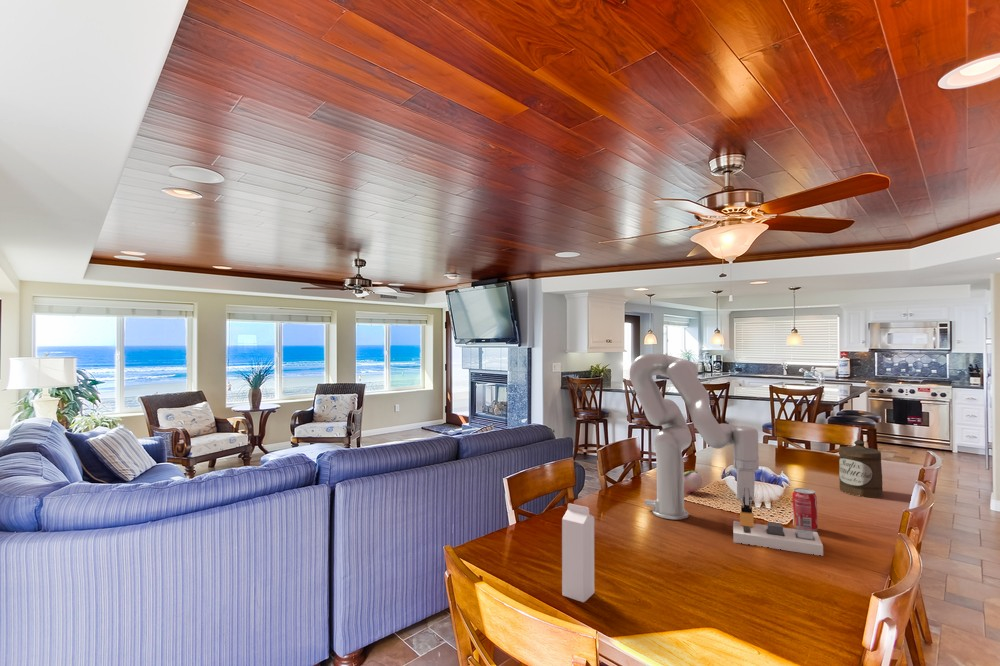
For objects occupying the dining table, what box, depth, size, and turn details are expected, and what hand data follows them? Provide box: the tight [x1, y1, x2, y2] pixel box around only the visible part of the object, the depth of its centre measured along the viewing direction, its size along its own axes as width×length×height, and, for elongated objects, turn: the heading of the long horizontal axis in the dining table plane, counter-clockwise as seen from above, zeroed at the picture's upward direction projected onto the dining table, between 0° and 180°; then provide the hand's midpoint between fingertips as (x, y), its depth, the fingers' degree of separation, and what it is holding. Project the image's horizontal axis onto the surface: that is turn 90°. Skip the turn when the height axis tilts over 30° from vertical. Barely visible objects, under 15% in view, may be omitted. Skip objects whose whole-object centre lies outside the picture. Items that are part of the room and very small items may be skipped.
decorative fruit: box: [684, 468, 703, 494], centre depth 210 cm, size 9×8×10 cm
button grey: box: [795, 525, 813, 540], centre depth 154 cm, size 4×4×4 cm
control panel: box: [732, 520, 824, 557], centre depth 157 cm, size 24×12×3 cm, turn 65°
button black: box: [767, 521, 784, 536], centre depth 157 cm, size 4×4×4 cm
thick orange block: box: [739, 511, 755, 533], centre depth 162 cm, size 4×2×7 cm, turn 65°
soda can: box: [792, 487, 819, 532], centre depth 168 cm, size 7×7×13 cm
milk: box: [561, 502, 595, 604], centre depth 124 cm, size 6×6×22 cm
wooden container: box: [838, 439, 883, 498], centre depth 211 cm, size 15×15×22 cm
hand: (746, 519), depth 166 cm, fingers closed
